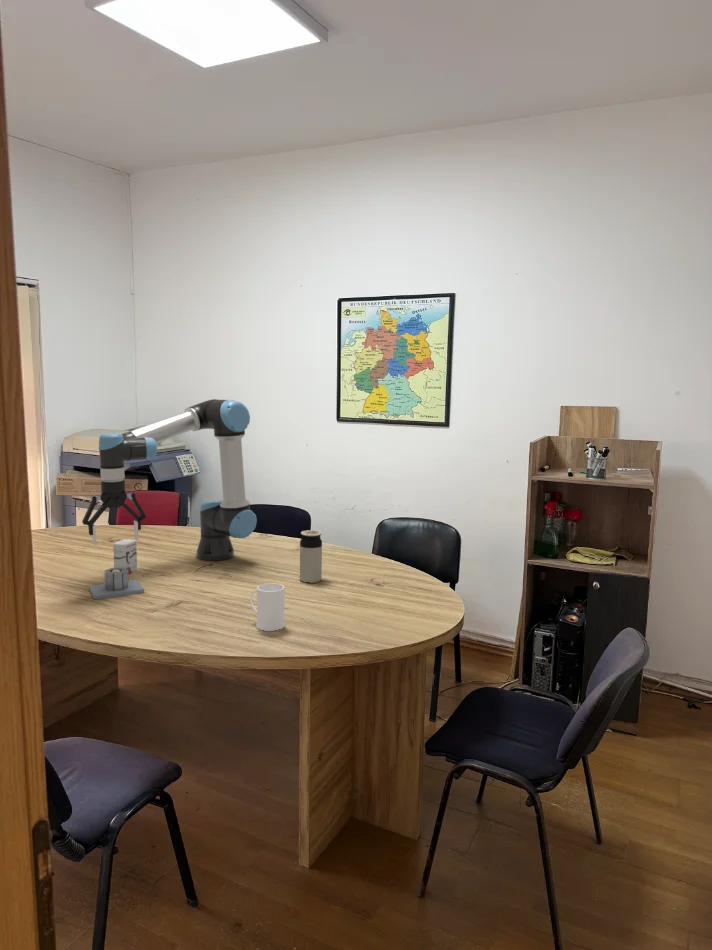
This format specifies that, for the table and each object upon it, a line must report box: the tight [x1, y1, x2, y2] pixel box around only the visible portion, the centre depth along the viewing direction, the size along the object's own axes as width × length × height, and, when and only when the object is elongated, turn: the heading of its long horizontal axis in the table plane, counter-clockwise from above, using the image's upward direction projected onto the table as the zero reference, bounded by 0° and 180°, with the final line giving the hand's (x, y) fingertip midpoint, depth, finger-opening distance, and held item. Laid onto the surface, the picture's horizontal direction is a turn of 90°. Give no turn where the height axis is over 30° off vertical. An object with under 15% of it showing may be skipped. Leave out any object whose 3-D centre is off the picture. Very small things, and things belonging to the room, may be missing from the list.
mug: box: [249, 582, 286, 632], centre depth 197 cm, size 12×8×12 cm
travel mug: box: [299, 529, 323, 583], centre depth 241 cm, size 8×8×18 cm
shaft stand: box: [88, 570, 145, 600], centre depth 225 cm, size 16×12×7 cm
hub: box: [103, 567, 129, 591], centre depth 225 cm, size 7×7×6 cm
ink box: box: [113, 538, 138, 575], centre depth 246 cm, size 9×5×12 cm, turn 168°
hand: (115, 541), depth 223 cm, fingers open, 13 cm apart
